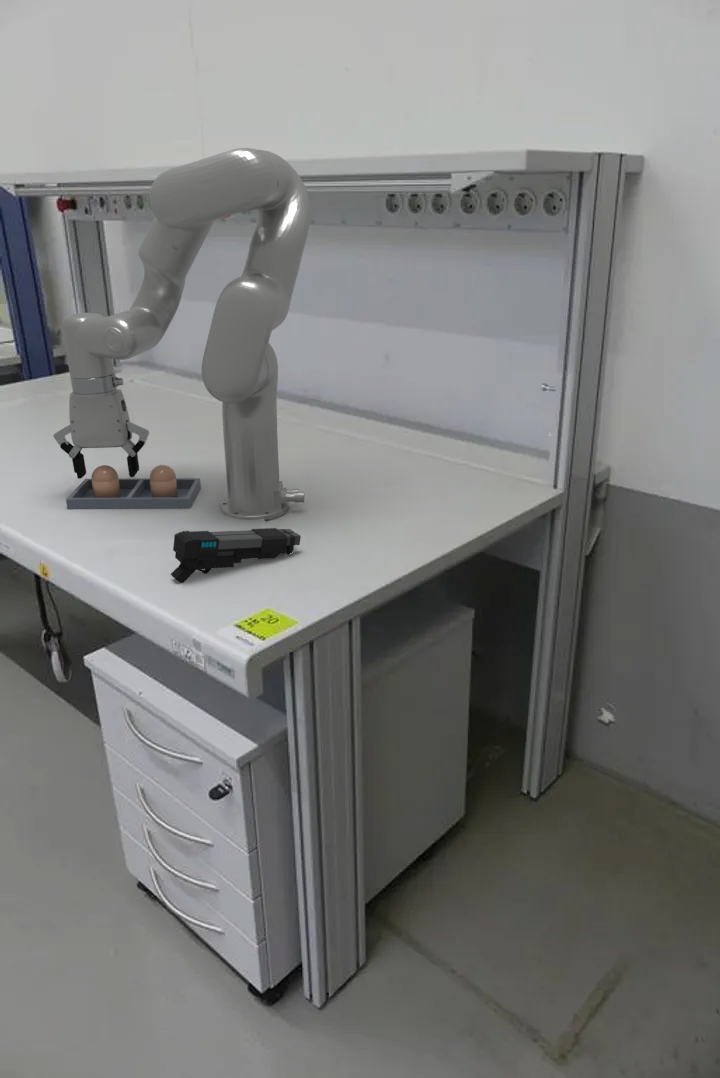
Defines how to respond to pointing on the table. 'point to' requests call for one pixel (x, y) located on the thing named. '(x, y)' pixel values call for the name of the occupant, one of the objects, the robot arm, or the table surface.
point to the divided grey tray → (135, 496)
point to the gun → (228, 548)
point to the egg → (105, 482)
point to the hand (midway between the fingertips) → (107, 475)
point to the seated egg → (163, 482)
